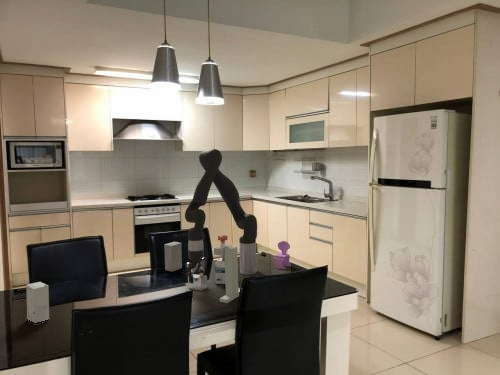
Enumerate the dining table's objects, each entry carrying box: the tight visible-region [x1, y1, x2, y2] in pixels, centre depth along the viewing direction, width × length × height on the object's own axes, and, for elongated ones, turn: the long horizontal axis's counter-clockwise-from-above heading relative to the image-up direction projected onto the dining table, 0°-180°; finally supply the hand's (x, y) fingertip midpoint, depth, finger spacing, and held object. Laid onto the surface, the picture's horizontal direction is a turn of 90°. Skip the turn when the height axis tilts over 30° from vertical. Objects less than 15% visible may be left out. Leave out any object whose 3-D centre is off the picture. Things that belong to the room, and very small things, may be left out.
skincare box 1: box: [26, 281, 50, 323], centre depth 160 cm, size 8×6×15 cm
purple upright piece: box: [274, 240, 292, 270], centre depth 230 cm, size 8×9×15 cm
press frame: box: [213, 244, 241, 304], centre depth 182 cm, size 16×9×23 cm, turn 151°
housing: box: [187, 273, 208, 291], centre depth 196 cm, size 5×8×8 cm, turn 61°
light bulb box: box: [214, 262, 226, 285], centre depth 206 cm, size 11×7×11 cm, turn 168°
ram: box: [215, 234, 228, 268], centre depth 183 cm, size 5×5×14 cm
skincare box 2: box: [163, 241, 183, 273], centre depth 232 cm, size 8×7×16 cm
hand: (196, 280), depth 196 cm, fingers open, 8 cm apart
